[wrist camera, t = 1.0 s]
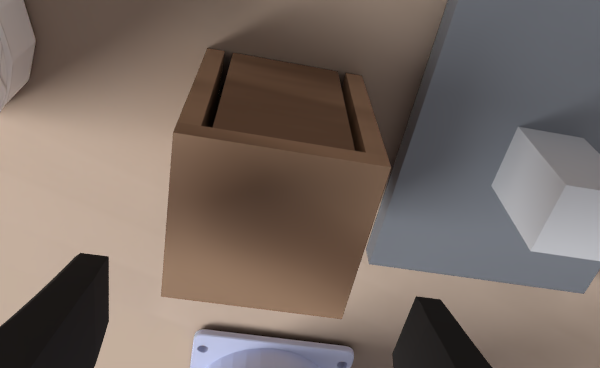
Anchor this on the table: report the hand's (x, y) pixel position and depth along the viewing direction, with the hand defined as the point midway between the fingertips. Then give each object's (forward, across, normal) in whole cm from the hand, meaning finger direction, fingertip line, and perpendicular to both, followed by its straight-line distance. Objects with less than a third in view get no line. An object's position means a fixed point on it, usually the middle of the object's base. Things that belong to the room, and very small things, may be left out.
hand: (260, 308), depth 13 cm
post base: (+9, -10, -1) cm, 14 cm away
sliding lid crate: (+9, 0, 0) cm, 9 cm away
